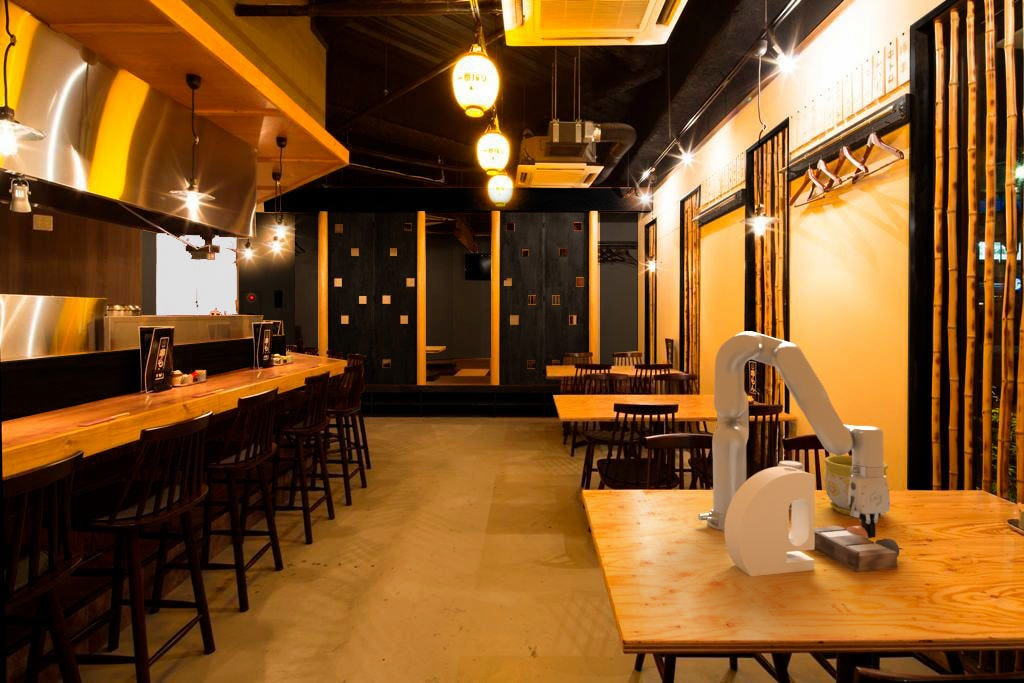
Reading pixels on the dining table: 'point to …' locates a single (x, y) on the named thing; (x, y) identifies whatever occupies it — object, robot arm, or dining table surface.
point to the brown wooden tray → (853, 551)
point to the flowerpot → (840, 481)
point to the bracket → (772, 522)
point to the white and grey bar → (878, 546)
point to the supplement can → (791, 464)
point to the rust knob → (848, 532)
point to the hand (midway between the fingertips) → (868, 535)
